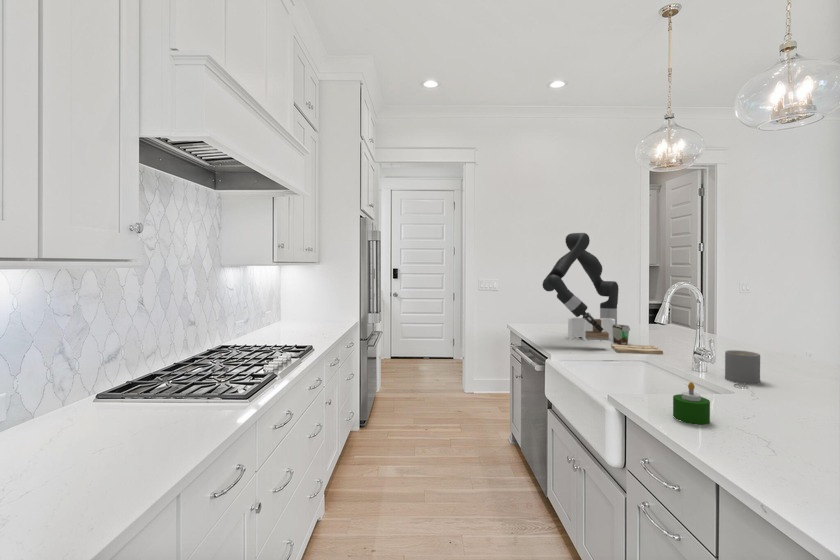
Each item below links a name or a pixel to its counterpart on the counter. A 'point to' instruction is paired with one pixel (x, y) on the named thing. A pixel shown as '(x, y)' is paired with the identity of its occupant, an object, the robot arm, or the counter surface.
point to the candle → (691, 407)
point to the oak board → (636, 349)
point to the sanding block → (596, 333)
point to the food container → (620, 334)
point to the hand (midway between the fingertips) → (601, 329)
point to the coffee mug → (742, 366)
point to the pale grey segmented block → (588, 327)
